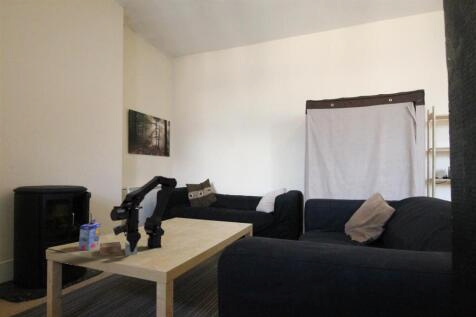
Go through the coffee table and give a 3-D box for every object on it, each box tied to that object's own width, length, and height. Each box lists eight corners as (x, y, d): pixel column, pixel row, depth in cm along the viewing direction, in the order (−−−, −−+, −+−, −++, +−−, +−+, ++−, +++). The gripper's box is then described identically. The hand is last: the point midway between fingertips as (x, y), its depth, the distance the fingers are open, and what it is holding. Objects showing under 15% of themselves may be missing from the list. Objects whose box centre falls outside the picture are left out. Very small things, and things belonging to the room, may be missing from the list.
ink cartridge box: (88, 250, 130) (90, 221, 131) (77, 250, 130) (79, 221, 132) (99, 245, 140) (101, 218, 141) (89, 245, 140) (91, 218, 141)
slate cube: (135, 251, 129) (136, 241, 130) (137, 254, 125) (137, 243, 125) (124, 252, 127) (125, 242, 127) (125, 255, 122) (126, 244, 123)
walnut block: (119, 249, 134) (119, 241, 134) (120, 253, 126) (121, 245, 126) (99, 251, 129) (100, 243, 130) (99, 256, 122) (100, 247, 122)
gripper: (113, 216, 132) (112, 248, 130) (115, 222, 115) (113, 258, 114) (136, 215, 137) (135, 245, 136) (141, 220, 120) (140, 254, 119)
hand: (131, 250), depth 126 cm, fingers open, 7 cm apart
